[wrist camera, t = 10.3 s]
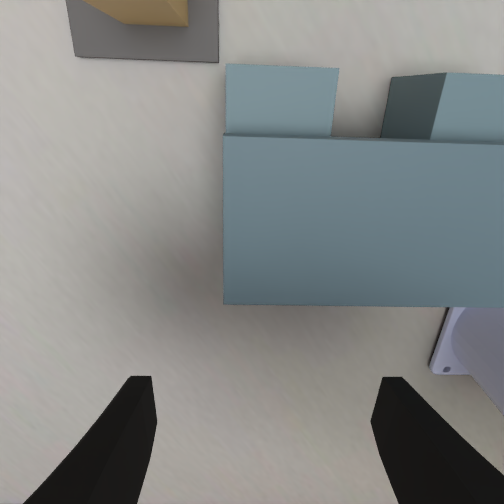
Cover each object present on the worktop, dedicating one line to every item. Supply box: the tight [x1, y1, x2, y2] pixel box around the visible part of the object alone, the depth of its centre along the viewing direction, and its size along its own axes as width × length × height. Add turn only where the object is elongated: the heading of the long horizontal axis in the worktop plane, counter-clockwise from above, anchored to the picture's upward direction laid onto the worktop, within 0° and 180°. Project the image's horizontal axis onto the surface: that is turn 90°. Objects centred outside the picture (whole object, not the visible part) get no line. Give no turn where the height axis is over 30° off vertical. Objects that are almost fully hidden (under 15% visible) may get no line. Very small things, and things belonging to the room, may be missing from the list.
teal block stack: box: [223, 64, 504, 308], centre depth 14 cm, size 11×8×6 cm
